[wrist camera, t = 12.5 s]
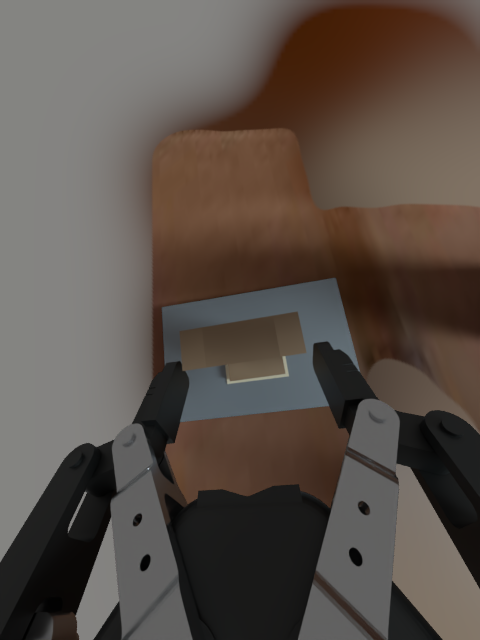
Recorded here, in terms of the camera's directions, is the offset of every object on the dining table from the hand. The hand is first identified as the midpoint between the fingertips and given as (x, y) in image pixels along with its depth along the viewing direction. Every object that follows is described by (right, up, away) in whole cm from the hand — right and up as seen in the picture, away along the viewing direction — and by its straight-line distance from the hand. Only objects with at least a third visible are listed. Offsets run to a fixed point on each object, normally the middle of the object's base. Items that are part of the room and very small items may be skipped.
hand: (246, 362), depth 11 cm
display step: (+2, -2, +16) cm, 16 cm away
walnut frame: (+1, -1, +10) cm, 11 cm away
